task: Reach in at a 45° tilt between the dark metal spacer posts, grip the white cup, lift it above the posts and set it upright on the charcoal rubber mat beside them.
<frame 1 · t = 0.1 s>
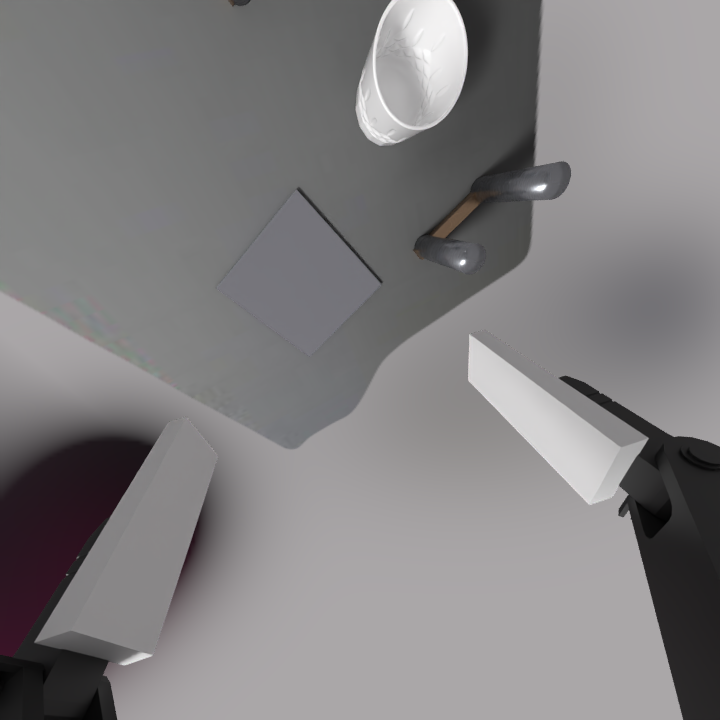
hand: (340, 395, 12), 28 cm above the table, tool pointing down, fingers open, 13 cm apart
mat: (303, 285, 36), on the table
white cup: (384, 108, 29), on the table
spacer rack: (384, 107, 28), on the table
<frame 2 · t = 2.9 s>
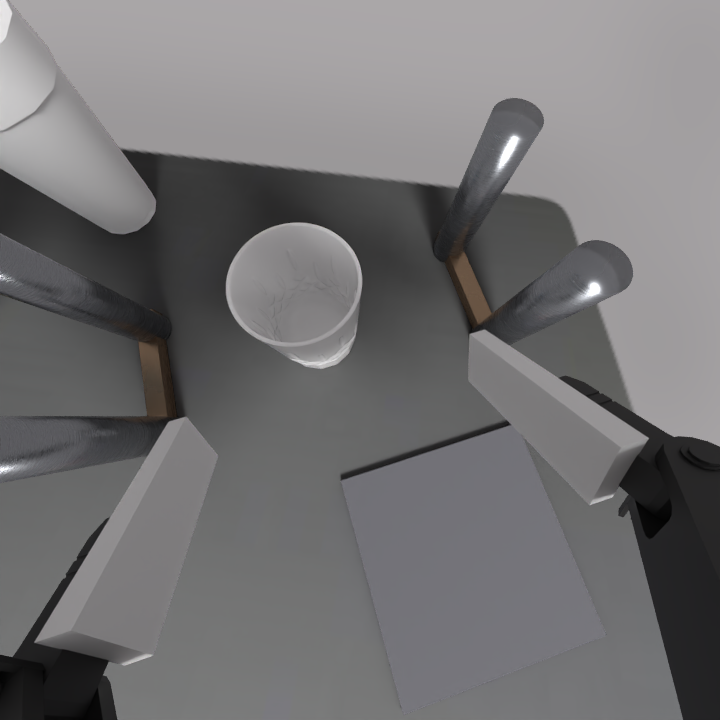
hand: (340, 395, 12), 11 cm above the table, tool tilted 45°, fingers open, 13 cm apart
mat: (464, 551, 21), on the table
foam cup: (128, 210, 28), on the table
white cup: (320, 335, 25), on the table
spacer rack: (320, 334, 24), on the table
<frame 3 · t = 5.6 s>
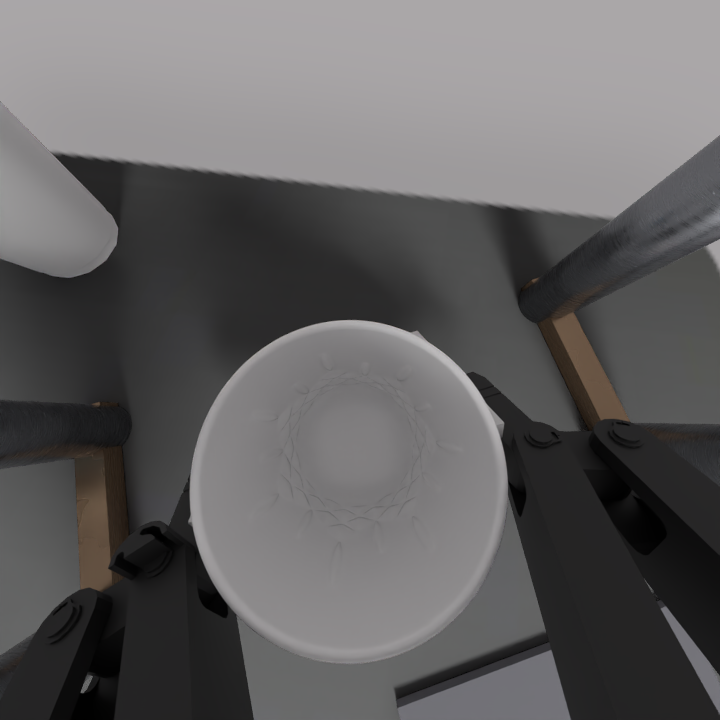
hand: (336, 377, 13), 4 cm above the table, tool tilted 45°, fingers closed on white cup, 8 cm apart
foam cup: (78, 242, 20), on the table
white cup: (356, 437, 16), on the table, touching gripper
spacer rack: (356, 438, 16), on the table
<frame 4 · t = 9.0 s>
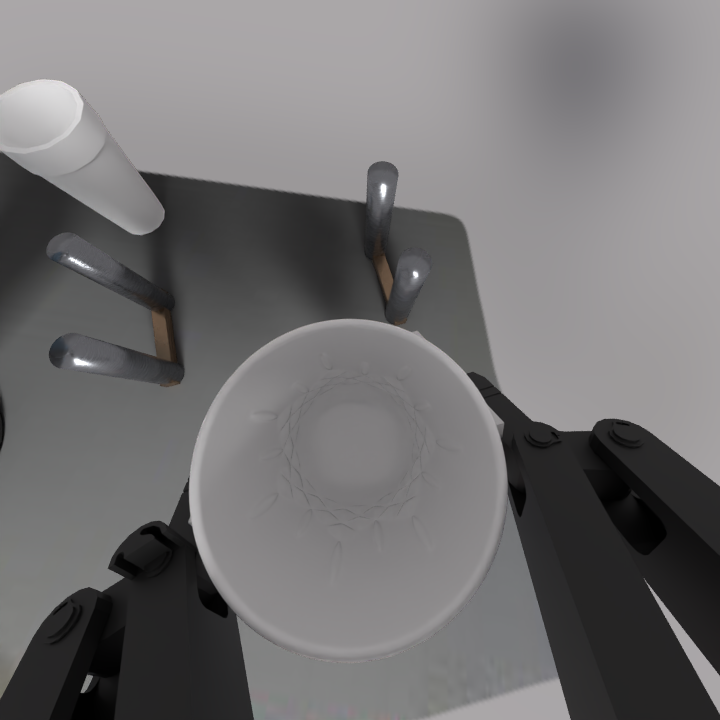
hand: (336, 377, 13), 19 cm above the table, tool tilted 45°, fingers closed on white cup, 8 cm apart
foam cup: (144, 217, 38), on the table
white cup: (355, 437, 16), point 15 cm above the table, touching gripper
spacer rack: (279, 309, 35), on the table
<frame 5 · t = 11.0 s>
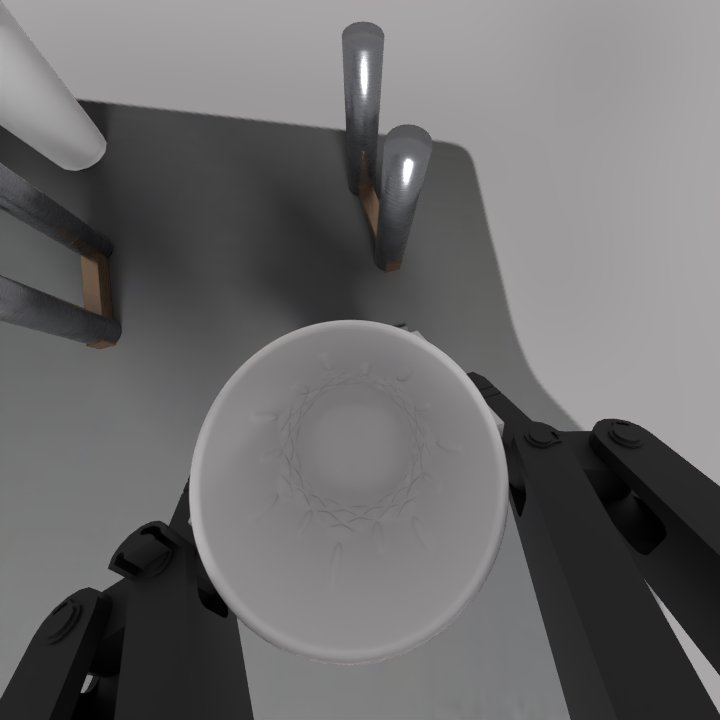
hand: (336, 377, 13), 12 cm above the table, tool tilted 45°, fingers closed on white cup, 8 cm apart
foam cup: (81, 151, 31), on the table
white cup: (356, 437, 16), point 8 cm above the table, touching gripper
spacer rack: (243, 254, 28), on the table
when the fingers open (6 cm above the table, at t = 12.8 s): white cup drops 2 cm, resting on mat.
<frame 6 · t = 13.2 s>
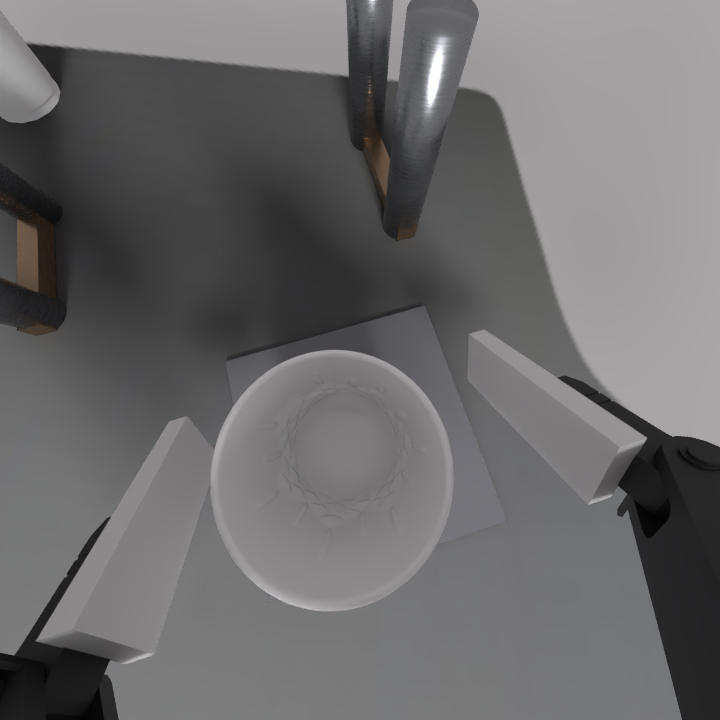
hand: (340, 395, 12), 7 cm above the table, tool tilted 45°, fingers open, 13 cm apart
mat: (356, 435, 18), on the table
foam cup: (30, 101, 26), on the table
white cup: (347, 439, 18), resting on mat
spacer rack: (220, 219, 23), on the table
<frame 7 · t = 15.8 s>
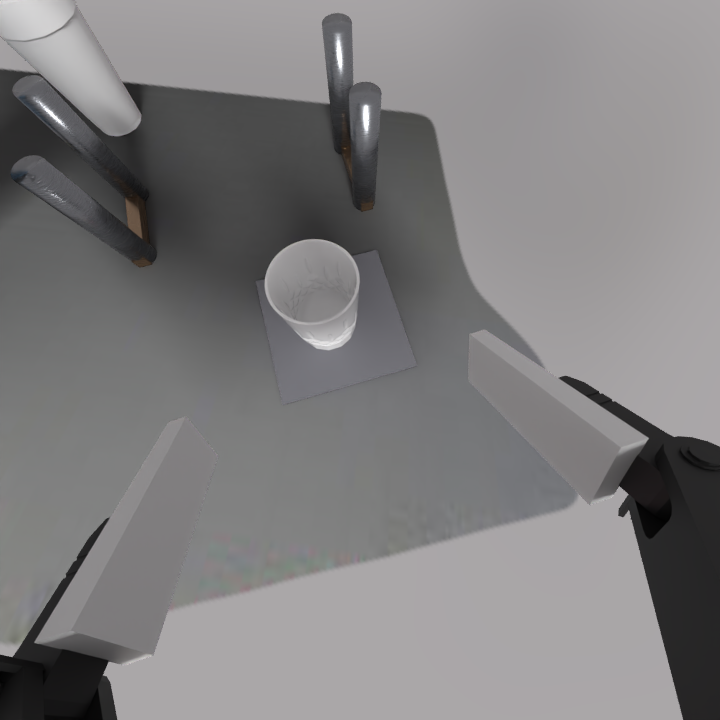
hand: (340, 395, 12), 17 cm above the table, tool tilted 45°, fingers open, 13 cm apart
mat: (333, 322, 31), on the table
foam cup: (121, 121, 39), on the table
white cup: (328, 324, 31), resting on mat
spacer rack: (250, 198, 35), on the table
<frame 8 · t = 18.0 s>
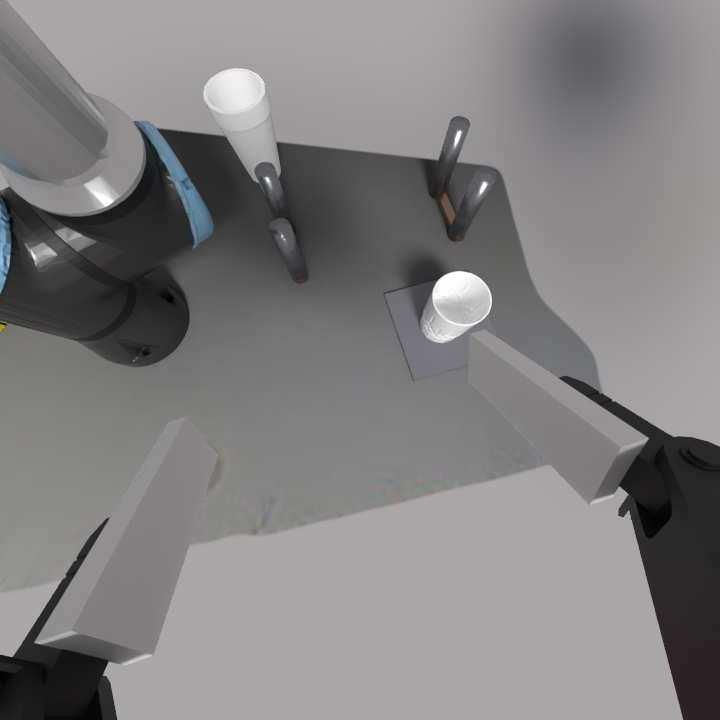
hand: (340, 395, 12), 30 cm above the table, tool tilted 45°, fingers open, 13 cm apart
mat: (442, 323, 44), on the table
foam cup: (265, 172, 52), on the table
white cup: (439, 324, 44), resting on mat
puzzle toy: (1, 313, 45), on the table
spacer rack: (371, 232, 48), on the table
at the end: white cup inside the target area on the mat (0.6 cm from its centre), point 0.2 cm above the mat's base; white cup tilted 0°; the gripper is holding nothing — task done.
